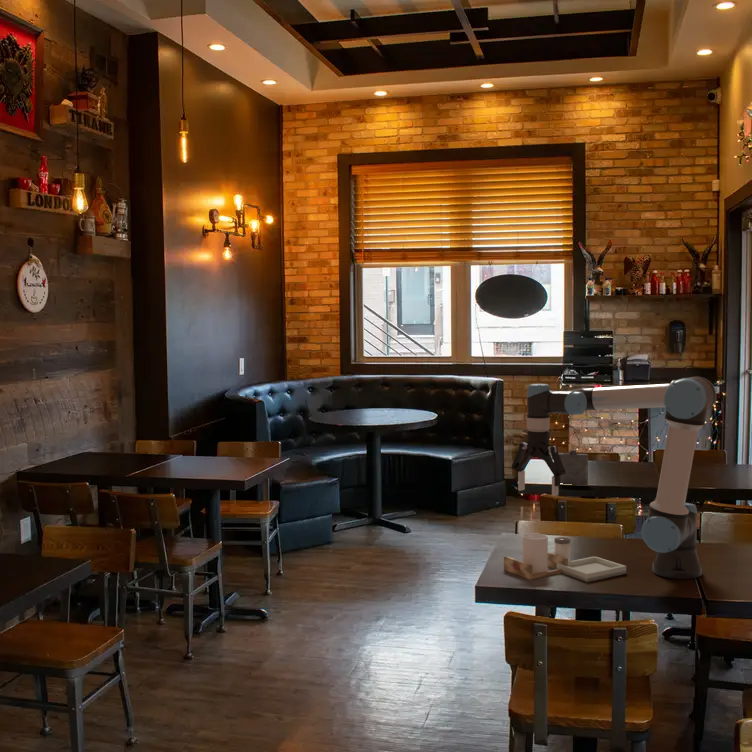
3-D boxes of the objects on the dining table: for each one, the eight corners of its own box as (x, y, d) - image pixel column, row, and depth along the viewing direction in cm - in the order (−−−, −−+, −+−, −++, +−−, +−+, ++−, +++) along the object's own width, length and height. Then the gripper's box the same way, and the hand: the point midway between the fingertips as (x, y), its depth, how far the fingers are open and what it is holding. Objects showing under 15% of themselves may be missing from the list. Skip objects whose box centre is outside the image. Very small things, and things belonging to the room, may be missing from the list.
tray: (626, 573, 291) (626, 566, 290) (587, 581, 282) (587, 574, 282) (595, 563, 303) (595, 556, 302) (556, 571, 294) (556, 563, 294)
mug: (525, 565, 301) (525, 529, 301) (550, 567, 299) (551, 531, 298) (519, 574, 290) (520, 538, 289) (546, 576, 288) (546, 540, 287)
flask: (588, 487, 437) (588, 450, 435) (557, 486, 440) (558, 449, 438) (587, 485, 440) (588, 449, 439) (557, 485, 443) (558, 448, 442)
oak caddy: (567, 571, 293) (567, 558, 293) (529, 579, 285) (529, 565, 285) (541, 562, 304) (541, 549, 304) (503, 569, 296) (503, 556, 296)
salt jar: (573, 566, 299) (573, 539, 299) (561, 568, 297) (561, 541, 296) (562, 562, 304) (562, 536, 303) (551, 564, 301) (551, 538, 301)
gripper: (576, 432, 294) (576, 496, 296) (514, 426, 312) (514, 486, 314) (563, 434, 289) (563, 499, 291) (501, 428, 307) (501, 489, 308)
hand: (538, 493), depth 302 cm, fingers open, 13 cm apart
